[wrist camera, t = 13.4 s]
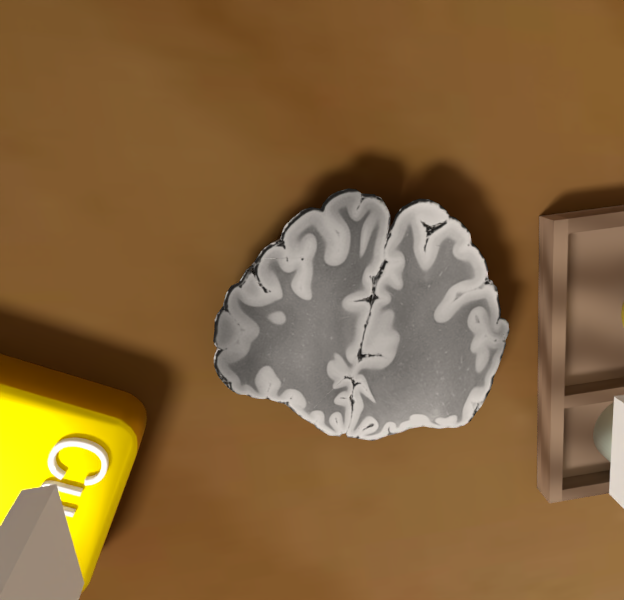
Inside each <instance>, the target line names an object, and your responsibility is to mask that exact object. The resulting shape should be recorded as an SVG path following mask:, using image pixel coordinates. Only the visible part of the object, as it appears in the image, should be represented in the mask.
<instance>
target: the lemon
mask: <svg viewBox="0 0 624 600" xmlns="http://www.w3.org/2000/svg"><path fill="white" fill-rule="evenodd" d="M621 318H622V323H623V327H624V302H623V305H622V311H621Z"/></svg>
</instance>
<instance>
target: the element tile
mask: <svg viewBox="0 0 624 600" xmlns="http://www.w3.org/2000/svg"><path fill="white" fill-rule="evenodd" d="M146 422H147V415H146V409H145V407H144V406H143V404H142V402H141V401H140V400H138V399H137V398H136V397H135V396H133V395H132V394H130V393H128V392H125V391H122V390H119V389H115V388H112V387H109V386H105V385H102V384H99V383H95V382H92V381H89V380H86V379H82V378H79V377H76V376H72V375H69V374H66V373H63V372H59V371H56V370H53V369H49V368H46V367H43V366H40V365H36V364H33V363H30V362H26V361H23V360H20V359H16V358H13V357H10V356H7V355H3V354H0V525H1V523H2V521H3V520H4V518H5V516H6V515H7V513H8V511H9V509H10V508H11V506H12V504H13V503H14V501H15V499H16V498H17V496H18V494H19V493H20V491H21V490H22V489H29V488H35V487H41V486H48V485H54V484H57V488H58V491H59V495H60V498H61V502H62V506H63V509H64V513H65V516H66V520H67V523H68V527H69V530H70V534H71V538H72V541H73V545H74V548H75V552H76V555H77V559H78V563H79V566H80V570H81V573H82V577H83V580H84V585H83V588H82V591H81V593H82V592H83V591H84V590H85V589H86V588H87V586H88V584H89V583H90V581H91V578H92V575H93V573H94V570H95V567H96V564H97V562H98V559H99V556H100V554H101V551H102V548H103V545H104V543H105V540H106V537H107V535H108V532H109V529H110V526H111V524H112V521H113V518H114V516H115V513H116V510H117V507H118V505H119V502H120V499H121V497H122V494H123V491H124V488H125V486H126V483H127V480H128V478H129V475H130V472H131V469H132V467H133V464H134V461H135V459H136V456H137V453H138V450H139V447H140V443H141V440H142V437H143V434H144V431H145V427H146Z"/></svg>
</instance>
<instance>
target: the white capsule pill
mask: <svg viewBox="0 0 624 600" xmlns="http://www.w3.org/2000/svg"><path fill="white" fill-rule="evenodd" d="M613 408H614V402H613V403H612V404H610V405H609V406H608V407H607V408H606V409H605V410H604V411H603V412H602V413H601V414H600V416H599V417H598V419H597V421H596V424H595V427H594V432H593V439H594V443H595V446H596V448H597V450H598V451H599V452H600V453H601V454H602V455H603V456H604V457H605V458H606V459H607V460H608V461H610V462H611V447H612V427H613Z"/></svg>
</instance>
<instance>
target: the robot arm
mask: <svg viewBox="0 0 624 600" xmlns="http://www.w3.org/2000/svg"><path fill="white" fill-rule="evenodd" d="M609 494H610V495H611V496H612V497H613V498H614V499H615V500H616V501H617V502H618V503H619V504H620V505H621V506H622V507H623V508H624V395H619V396H614V408H613V427H612V447H611V466H610V485H609ZM83 585H84V580H83V577H82V573H81V570H80V566H79V563H78V559H77V555H76V552H75V548H74V545H73V541H72V538H71V534H70V530H69V527H68V523H67V520H66V516H65V513H64V509H63V506H62V502H61V498H60V495H59V491H58V488H57V484H54V485H48V486H41V487H35V488H29V489H22V490H21V491H20V493H19V494H18V496H17V498H16V499H15V501H14V503H13V504H12V506H11V508H10V509H9V511H8V513H7V515H6V516H5V518H4V520H3V521H2V523H1V525H0V600H79V597H80V594H81V591H82V588H83Z"/></svg>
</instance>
